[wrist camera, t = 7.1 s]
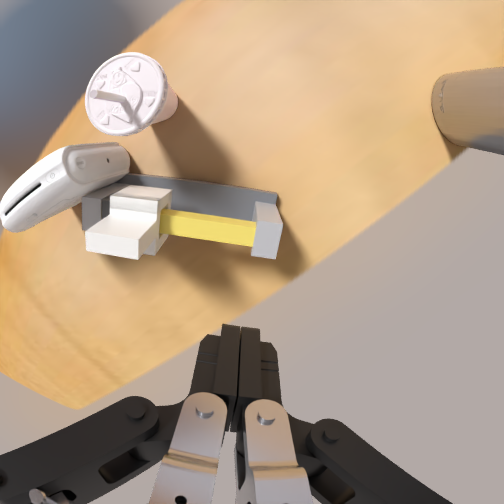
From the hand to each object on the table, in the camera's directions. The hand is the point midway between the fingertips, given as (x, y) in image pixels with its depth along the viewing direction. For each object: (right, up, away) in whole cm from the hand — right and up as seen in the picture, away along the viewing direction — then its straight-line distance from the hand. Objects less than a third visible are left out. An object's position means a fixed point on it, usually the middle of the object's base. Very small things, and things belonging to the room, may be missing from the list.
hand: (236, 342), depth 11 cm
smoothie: (-9, +19, +14) cm, 24 cm away
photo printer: (-17, +12, +16) cm, 26 cm away
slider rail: (-6, +9, +18) cm, 21 cm away
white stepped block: (-9, +7, +14) cm, 18 cm away
